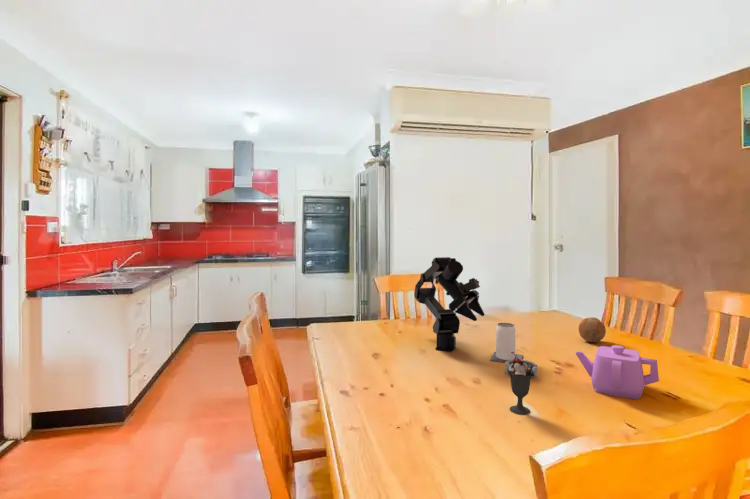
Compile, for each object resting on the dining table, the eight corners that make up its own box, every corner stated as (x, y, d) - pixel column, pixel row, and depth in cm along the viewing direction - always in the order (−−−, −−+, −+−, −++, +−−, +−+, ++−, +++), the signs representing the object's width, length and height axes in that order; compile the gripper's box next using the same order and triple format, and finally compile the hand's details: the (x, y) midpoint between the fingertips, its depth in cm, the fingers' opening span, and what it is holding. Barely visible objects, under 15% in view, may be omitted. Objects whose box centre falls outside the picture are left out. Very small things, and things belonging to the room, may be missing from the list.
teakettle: (616, 403, 109) (617, 357, 109) (571, 380, 126) (572, 340, 125) (667, 396, 114) (669, 352, 113) (617, 375, 130) (618, 336, 129)
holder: (503, 376, 129) (503, 366, 129) (507, 366, 138) (507, 357, 138) (536, 380, 126) (536, 371, 125) (537, 370, 134) (538, 361, 134)
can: (518, 360, 143) (518, 326, 143) (500, 361, 142) (501, 327, 142) (509, 354, 150) (510, 322, 149) (492, 355, 149) (493, 322, 148)
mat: (490, 360, 145) (490, 359, 145) (494, 352, 154) (494, 351, 154) (520, 364, 140) (520, 363, 140) (522, 355, 150) (522, 354, 150)
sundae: (501, 405, 109) (502, 349, 108) (526, 404, 109) (527, 348, 108) (512, 416, 102) (513, 357, 101) (538, 415, 103) (539, 356, 102)
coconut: (598, 338, 172) (599, 315, 171) (610, 345, 162) (610, 320, 161) (574, 338, 172) (575, 314, 172) (584, 345, 163) (584, 320, 162)
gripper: (457, 274, 145) (488, 308, 140) (474, 269, 161) (502, 299, 156) (436, 294, 149) (465, 328, 144) (454, 287, 165) (481, 318, 160)
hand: (480, 317), depth 151 cm, fingers open, 9 cm apart
